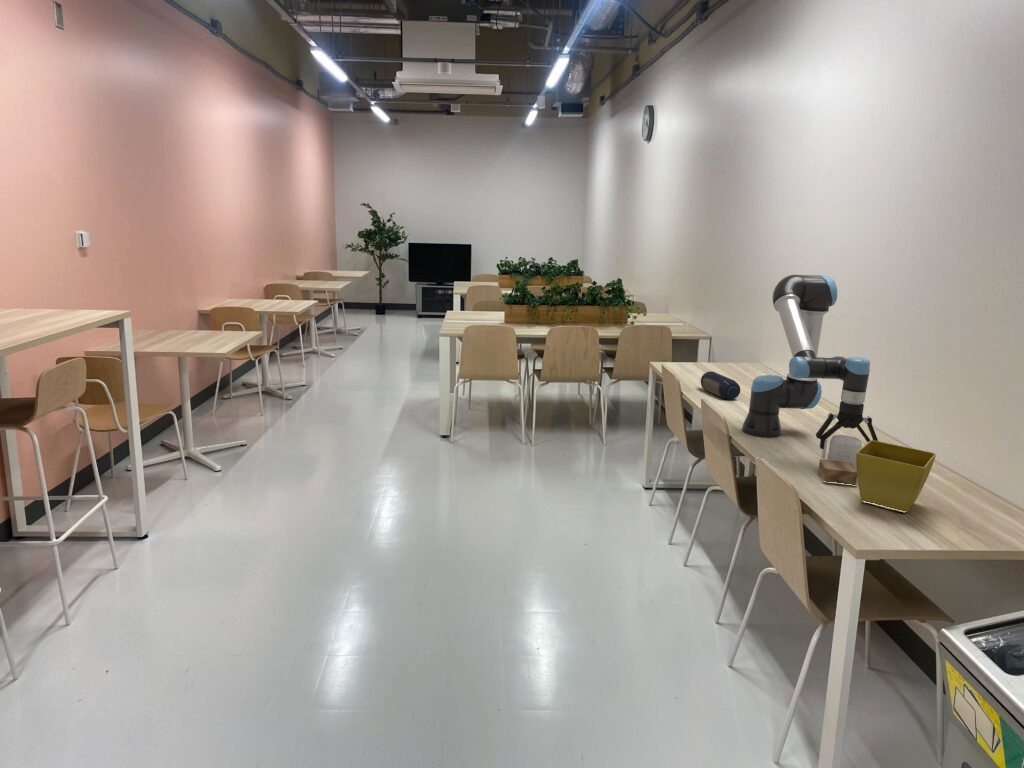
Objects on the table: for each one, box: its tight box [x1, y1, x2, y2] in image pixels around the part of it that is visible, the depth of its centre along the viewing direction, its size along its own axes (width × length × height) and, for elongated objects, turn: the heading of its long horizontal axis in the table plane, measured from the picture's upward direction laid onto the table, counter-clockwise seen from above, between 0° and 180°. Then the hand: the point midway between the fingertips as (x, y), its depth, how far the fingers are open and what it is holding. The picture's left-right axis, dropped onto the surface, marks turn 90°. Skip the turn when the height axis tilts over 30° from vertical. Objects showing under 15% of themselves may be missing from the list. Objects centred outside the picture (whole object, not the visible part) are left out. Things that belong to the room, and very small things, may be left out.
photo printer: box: [826, 434, 863, 471], centre depth 253 cm, size 10×4×12 cm, turn 60°
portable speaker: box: [700, 371, 742, 401], centre depth 352 cm, size 25×10×10 cm, turn 16°
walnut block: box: [817, 458, 857, 485], centre depth 243 cm, size 10×10×5 cm
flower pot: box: [856, 439, 937, 512], centre depth 223 cm, size 19×19×17 cm
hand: (843, 459), depth 253 cm, fingers open, 13 cm apart
